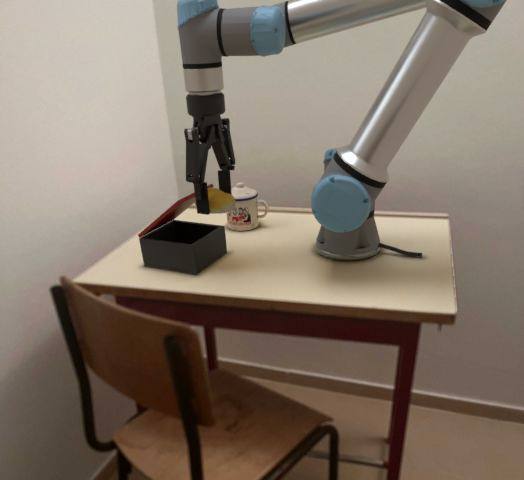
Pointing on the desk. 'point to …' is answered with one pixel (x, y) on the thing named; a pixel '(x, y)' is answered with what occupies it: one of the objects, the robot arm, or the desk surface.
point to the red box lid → (171, 213)
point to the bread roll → (220, 201)
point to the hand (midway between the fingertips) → (215, 206)
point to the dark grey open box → (183, 246)
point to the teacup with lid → (245, 209)
